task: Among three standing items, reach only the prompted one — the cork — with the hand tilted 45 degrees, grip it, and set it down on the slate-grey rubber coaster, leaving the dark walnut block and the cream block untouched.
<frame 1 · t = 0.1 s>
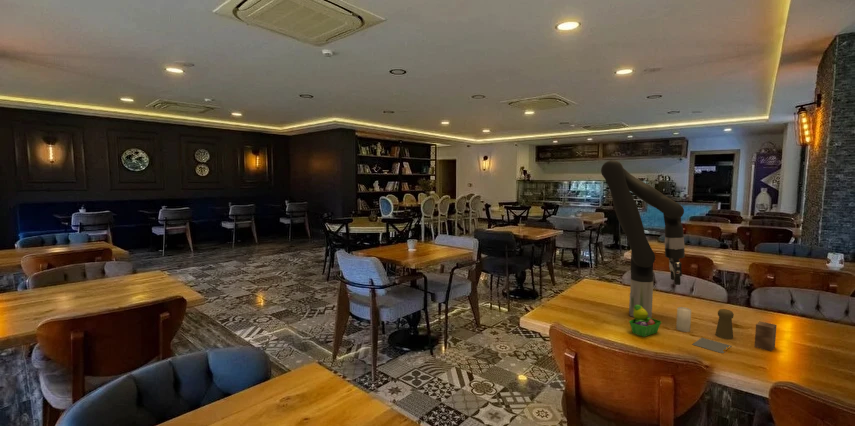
hand: (675, 282, 179), 17 cm above the table, tool pointing down, fingers open, 8 cm apart
cork: (724, 336, 162), on the table
coaster: (711, 345, 153), on the table
cream block: (683, 329, 169), on the table
fruit basket: (643, 332, 167), on the table
walnut block: (764, 347, 151), on the table
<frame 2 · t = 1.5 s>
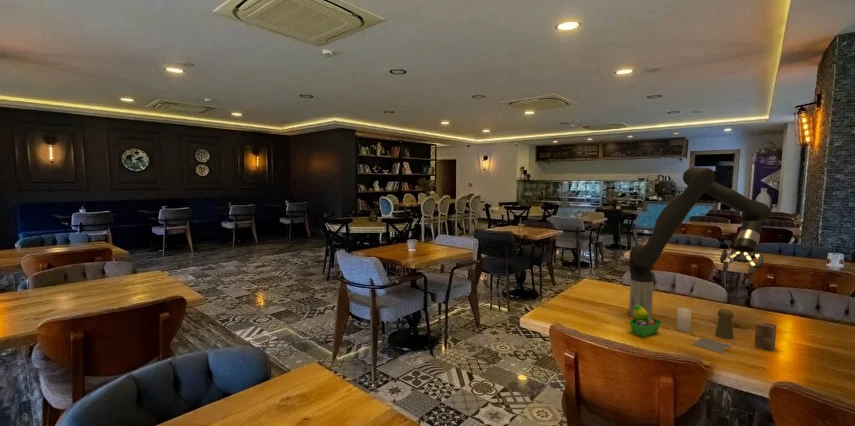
hand: (737, 272, 166), 24 cm above the table, tool tilted 45°, fingers open, 8 cm apart
nothing on the table moved.
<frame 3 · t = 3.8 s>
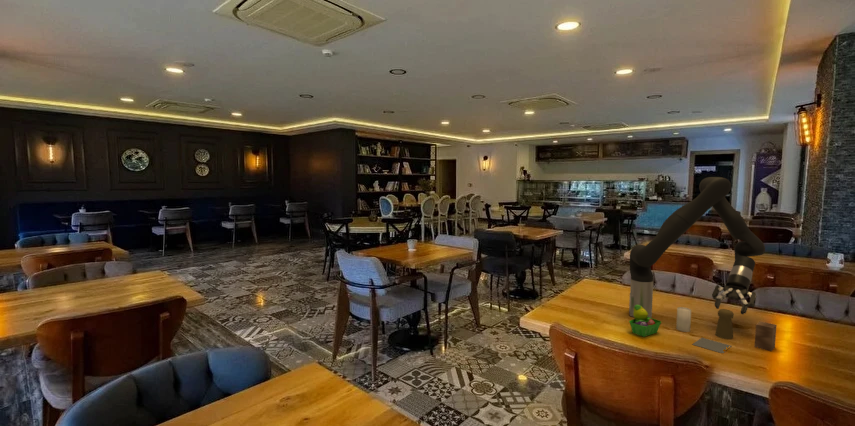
hand: (729, 310, 163), 10 cm above the table, tool tilted 45°, fingers open, 8 cm apart
nothing on the table moved.
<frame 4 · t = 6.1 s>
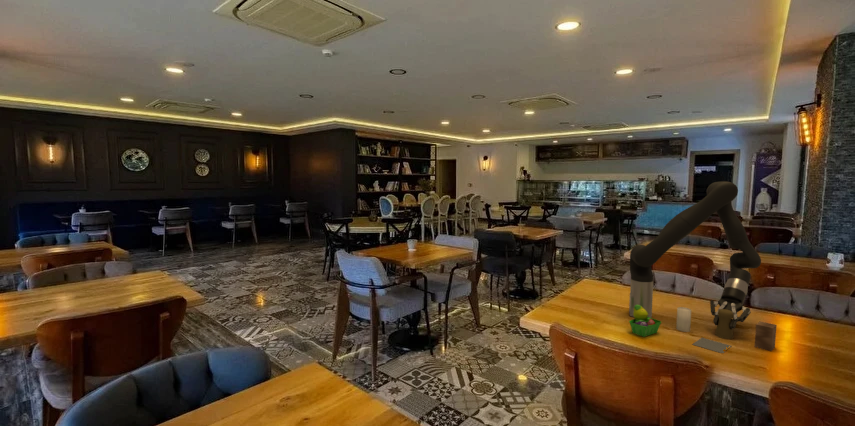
hand: (723, 326, 160), 5 cm above the table, tool tilted 45°, fingers closed on cork, 4 cm apart
cork: (724, 336, 162), on the table, touching gripper
everything else where it was.
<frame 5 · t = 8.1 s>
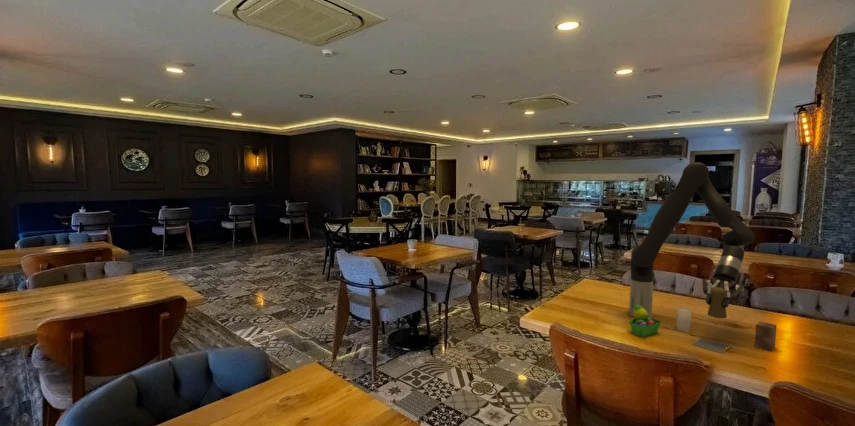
hand: (715, 305, 153), 16 cm above the table, tool tilted 45°, fingers closed on cork, 4 cm apart
cork: (717, 315, 154), point 11 cm above the table, touching gripper
everything else where it was.
when the fingers open (6 cm above the table, at t = 10.7 s): cork drops 1 cm, resting on coaster.
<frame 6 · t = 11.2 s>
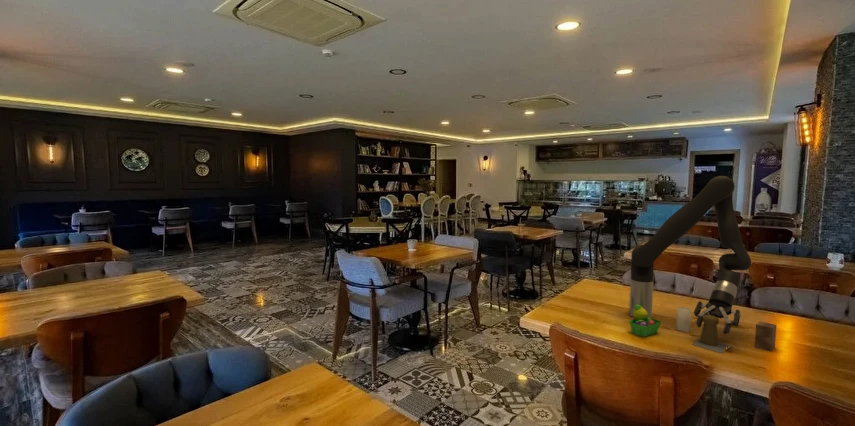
hand: (711, 329, 152), 7 cm above the table, tool tilted 45°, fingers open, 8 cm apart
cork: (708, 342, 156), resting on coaster, touching gripper
everything else where it was.
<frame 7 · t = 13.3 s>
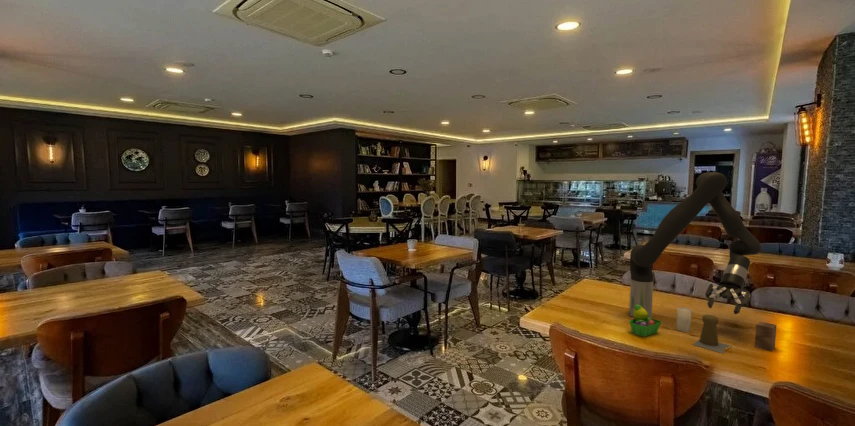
hand: (722, 310, 160), 11 cm above the table, tool tilted 45°, fingers open, 8 cm apart
cork: (708, 343, 156), resting on coaster
everything else where it was.
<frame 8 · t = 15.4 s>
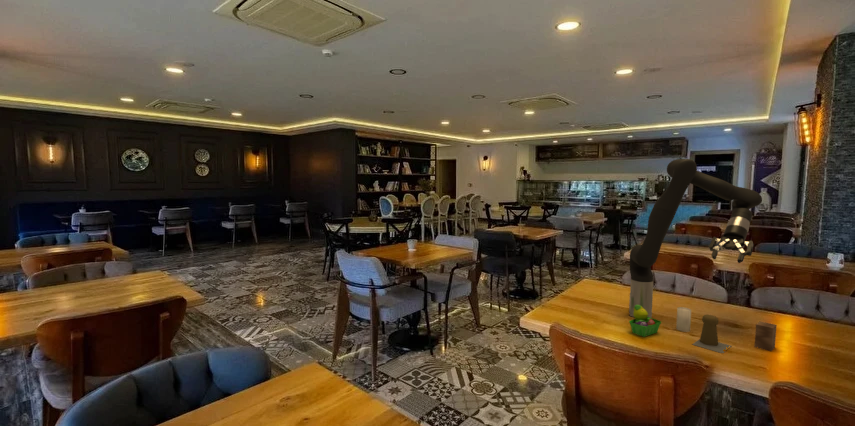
hand: (726, 260, 163), 31 cm above the table, tool tilted 45°, fingers open, 8 cm apart
nothing on the table moved.
at the end: cork 2.3 cm from the coaster (horizontally); cork tilted 0°; walnut block moved 0.1 cm from its start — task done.
